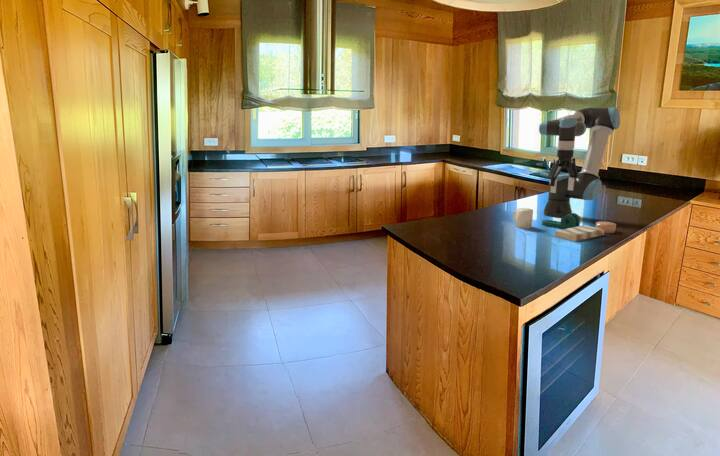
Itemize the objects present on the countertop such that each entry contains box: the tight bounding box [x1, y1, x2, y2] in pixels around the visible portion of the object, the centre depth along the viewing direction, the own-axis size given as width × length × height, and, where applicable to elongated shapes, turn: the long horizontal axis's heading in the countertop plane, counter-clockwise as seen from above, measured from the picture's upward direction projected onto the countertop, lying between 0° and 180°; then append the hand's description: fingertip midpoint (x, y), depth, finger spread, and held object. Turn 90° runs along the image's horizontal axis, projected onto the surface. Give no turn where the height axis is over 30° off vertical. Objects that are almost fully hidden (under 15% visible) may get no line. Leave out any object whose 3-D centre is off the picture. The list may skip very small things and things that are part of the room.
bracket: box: [541, 212, 581, 230], centre depth 258 cm, size 18×7×8 cm, turn 42°
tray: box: [554, 225, 605, 242], centre depth 241 cm, size 22×11×3 cm, turn 121°
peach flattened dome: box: [595, 221, 617, 234], centre depth 249 cm, size 9×9×4 cm
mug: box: [512, 207, 534, 230], centre depth 259 cm, size 8×11×9 cm
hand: (561, 191), depth 254 cm, fingers open, 13 cm apart
